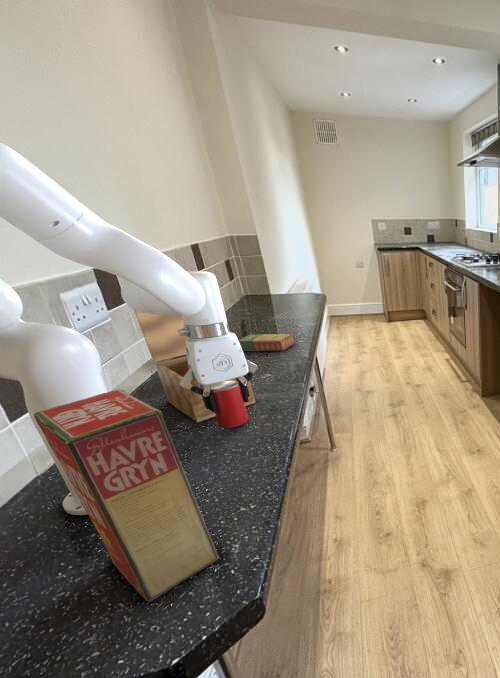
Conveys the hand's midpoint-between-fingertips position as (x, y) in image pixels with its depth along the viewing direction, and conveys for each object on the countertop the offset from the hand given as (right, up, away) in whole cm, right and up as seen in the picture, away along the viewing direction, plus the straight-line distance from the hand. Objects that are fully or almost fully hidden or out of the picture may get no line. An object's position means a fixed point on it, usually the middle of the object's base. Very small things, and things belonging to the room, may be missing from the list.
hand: (228, 404), depth 96 cm
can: (0, -4, +2) cm, 5 cm away
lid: (-22, +22, +11) cm, 33 cm away
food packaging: (+15, -22, -35) cm, 44 cm away
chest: (-14, 0, +14) cm, 20 cm away
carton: (-25, +18, +58) cm, 66 cm away
